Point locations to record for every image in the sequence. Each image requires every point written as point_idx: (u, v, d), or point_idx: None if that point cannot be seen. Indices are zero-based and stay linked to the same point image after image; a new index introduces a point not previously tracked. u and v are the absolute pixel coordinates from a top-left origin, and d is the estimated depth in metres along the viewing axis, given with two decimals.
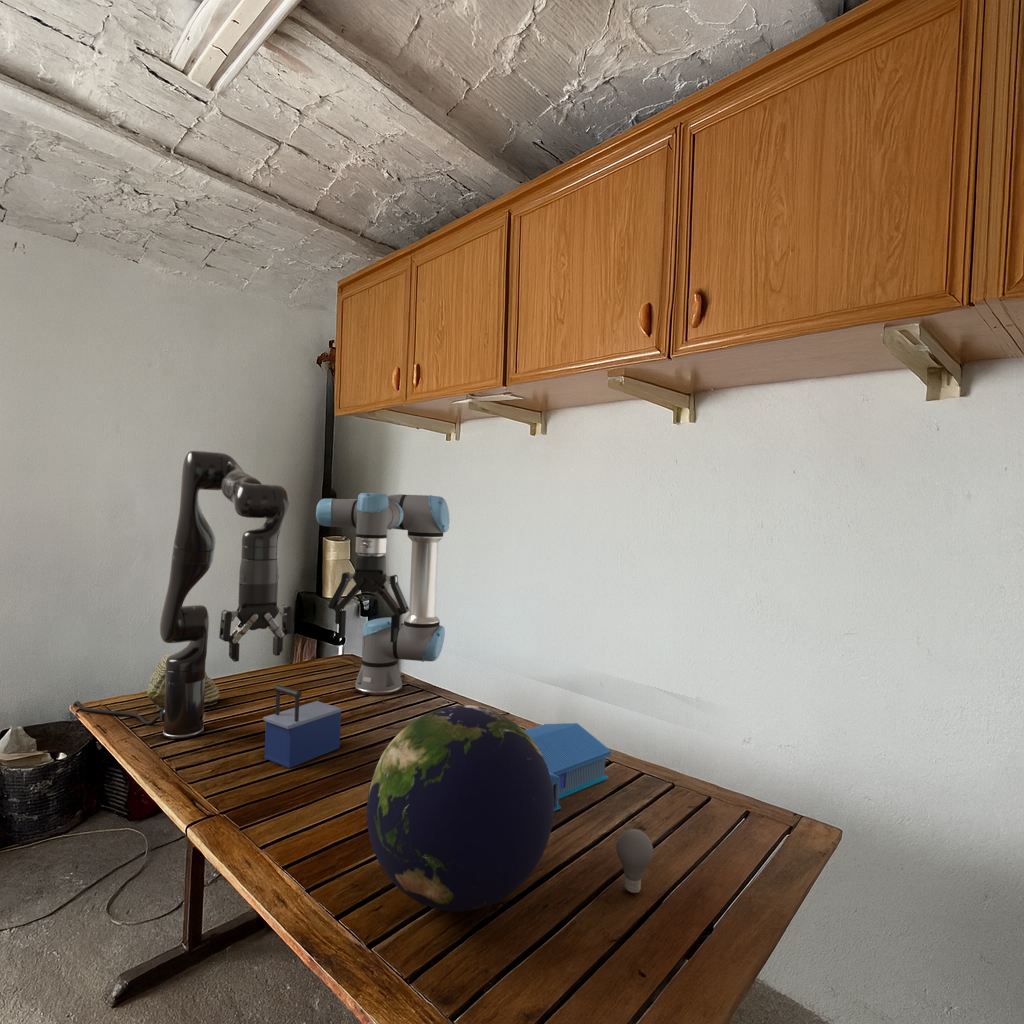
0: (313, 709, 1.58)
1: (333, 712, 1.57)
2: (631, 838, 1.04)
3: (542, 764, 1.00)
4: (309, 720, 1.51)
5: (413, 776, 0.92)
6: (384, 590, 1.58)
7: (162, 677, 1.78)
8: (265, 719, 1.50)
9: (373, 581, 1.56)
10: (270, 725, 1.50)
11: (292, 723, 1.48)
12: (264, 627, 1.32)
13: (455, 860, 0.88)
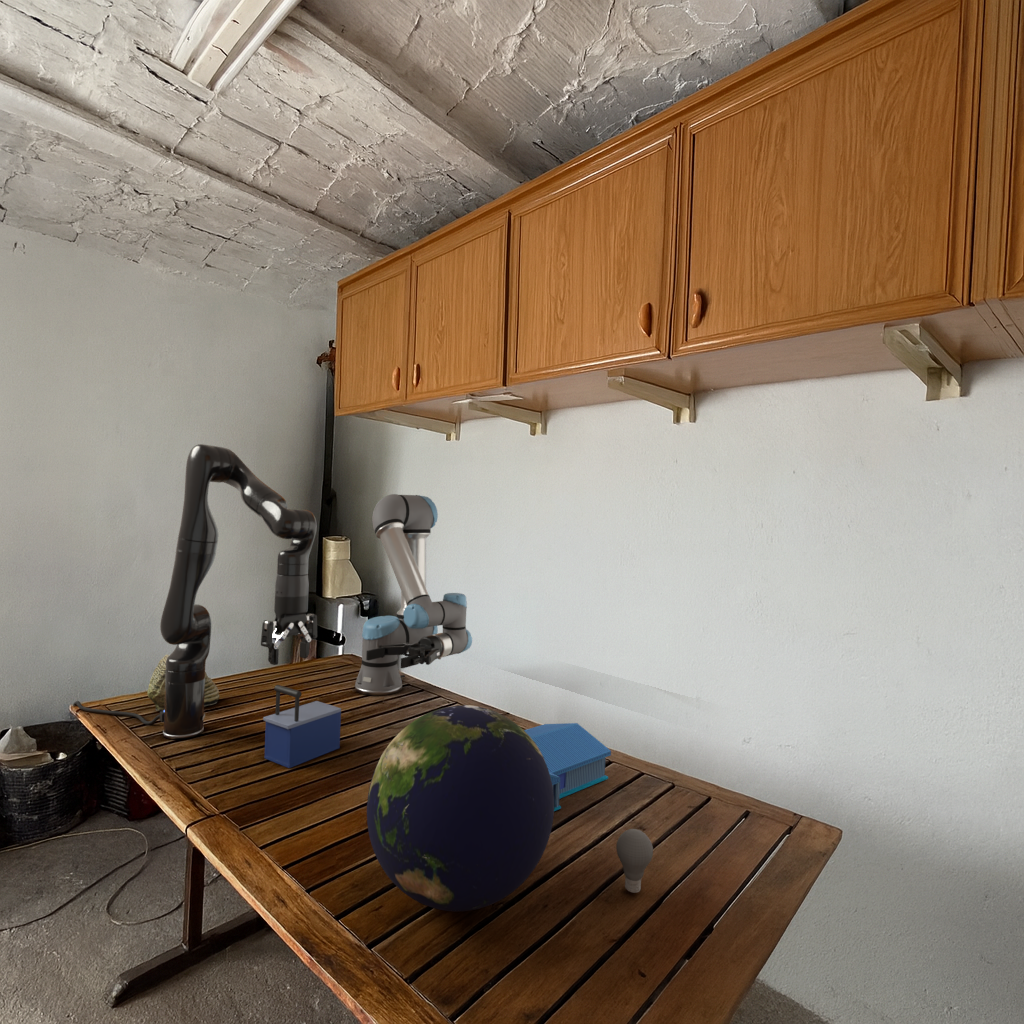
0: (313, 709, 1.58)
1: (333, 712, 1.57)
2: (631, 838, 1.04)
3: (542, 764, 1.00)
4: (309, 720, 1.51)
5: (413, 776, 0.92)
6: None
7: (162, 677, 1.78)
8: (265, 719, 1.50)
9: None
10: (270, 725, 1.50)
11: (292, 723, 1.48)
12: None
13: (455, 860, 0.88)
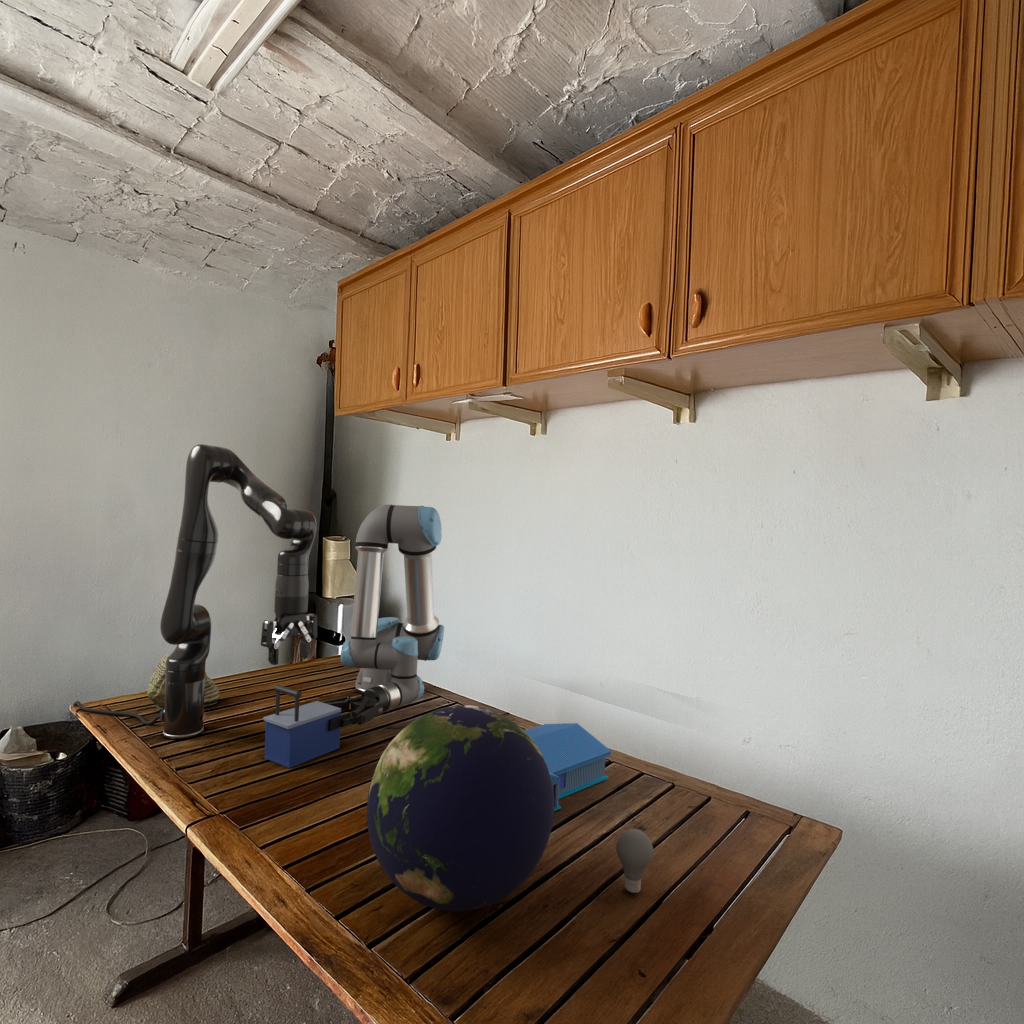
0: (313, 709, 1.58)
1: (333, 712, 1.57)
2: (631, 838, 1.04)
3: (542, 764, 1.00)
4: (309, 720, 1.51)
5: (413, 776, 0.92)
6: None
7: (162, 677, 1.78)
8: (265, 719, 1.50)
9: None
10: (270, 725, 1.50)
11: (292, 723, 1.48)
12: None
13: (455, 860, 0.88)
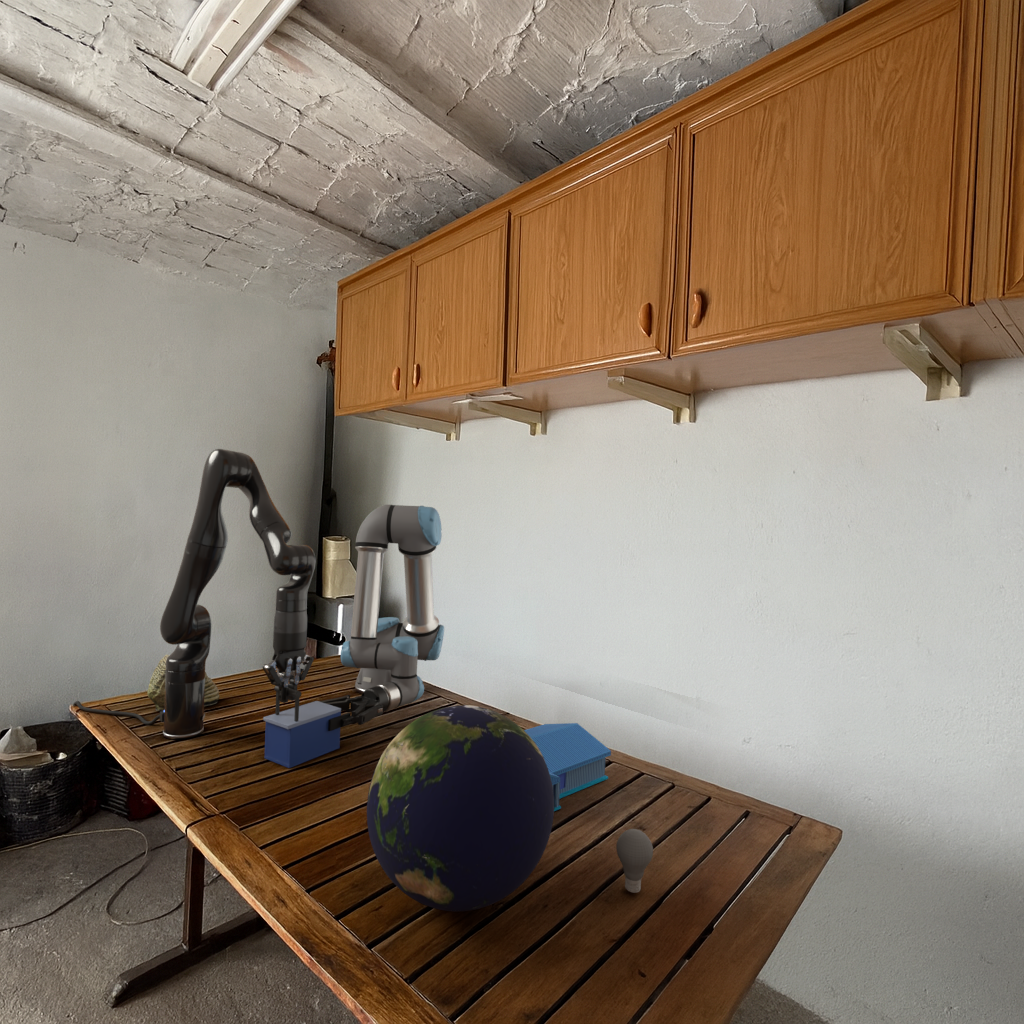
0: (313, 709, 1.58)
1: (333, 712, 1.57)
2: (631, 838, 1.04)
3: (542, 764, 1.00)
4: (309, 720, 1.51)
5: (413, 776, 0.92)
6: None
7: (162, 677, 1.78)
8: (265, 719, 1.51)
9: None
10: (270, 725, 1.51)
11: (292, 723, 1.48)
12: None
13: (455, 860, 0.88)
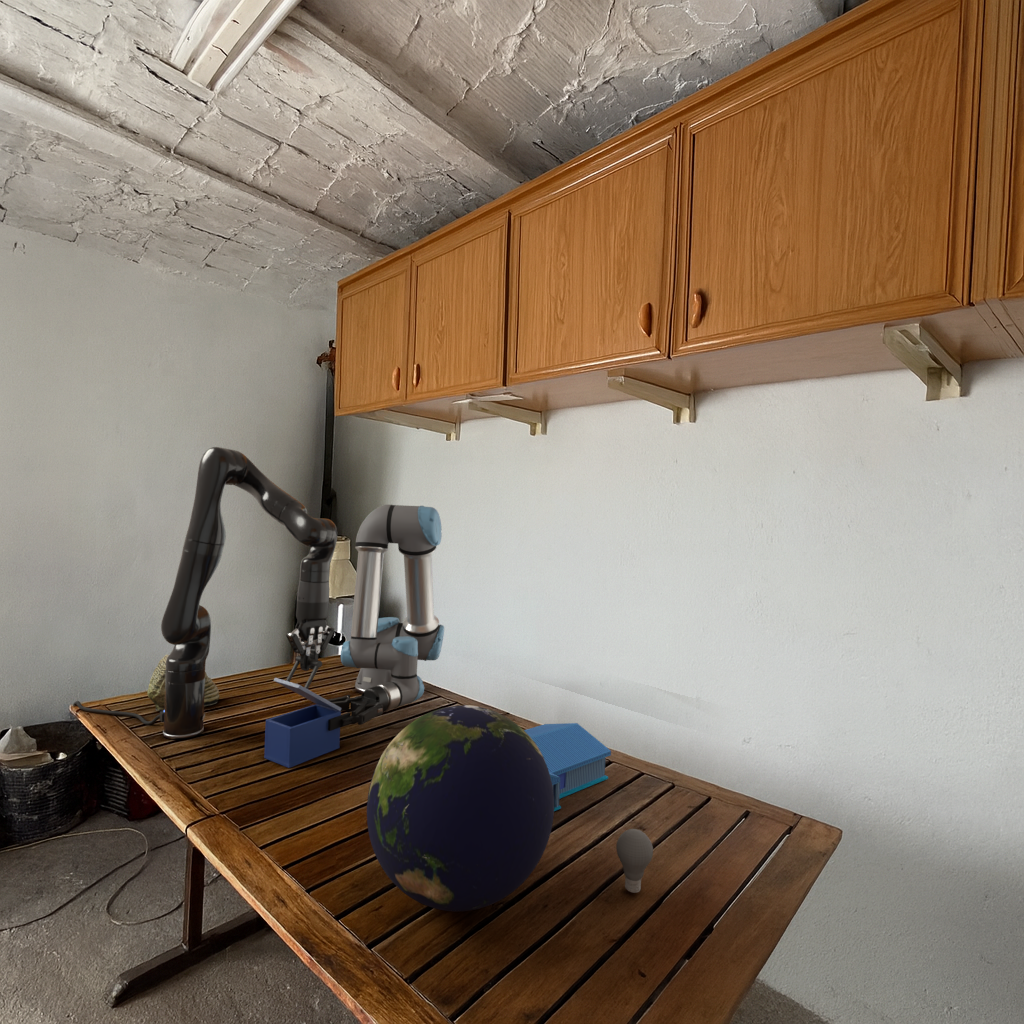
0: None
1: (334, 706, 1.58)
2: (631, 838, 1.04)
3: (542, 764, 1.00)
4: (315, 695, 1.53)
5: (413, 776, 0.92)
6: None
7: (162, 677, 1.78)
8: (276, 679, 1.53)
9: None
10: (270, 725, 1.51)
11: None
12: None
13: (455, 860, 0.88)
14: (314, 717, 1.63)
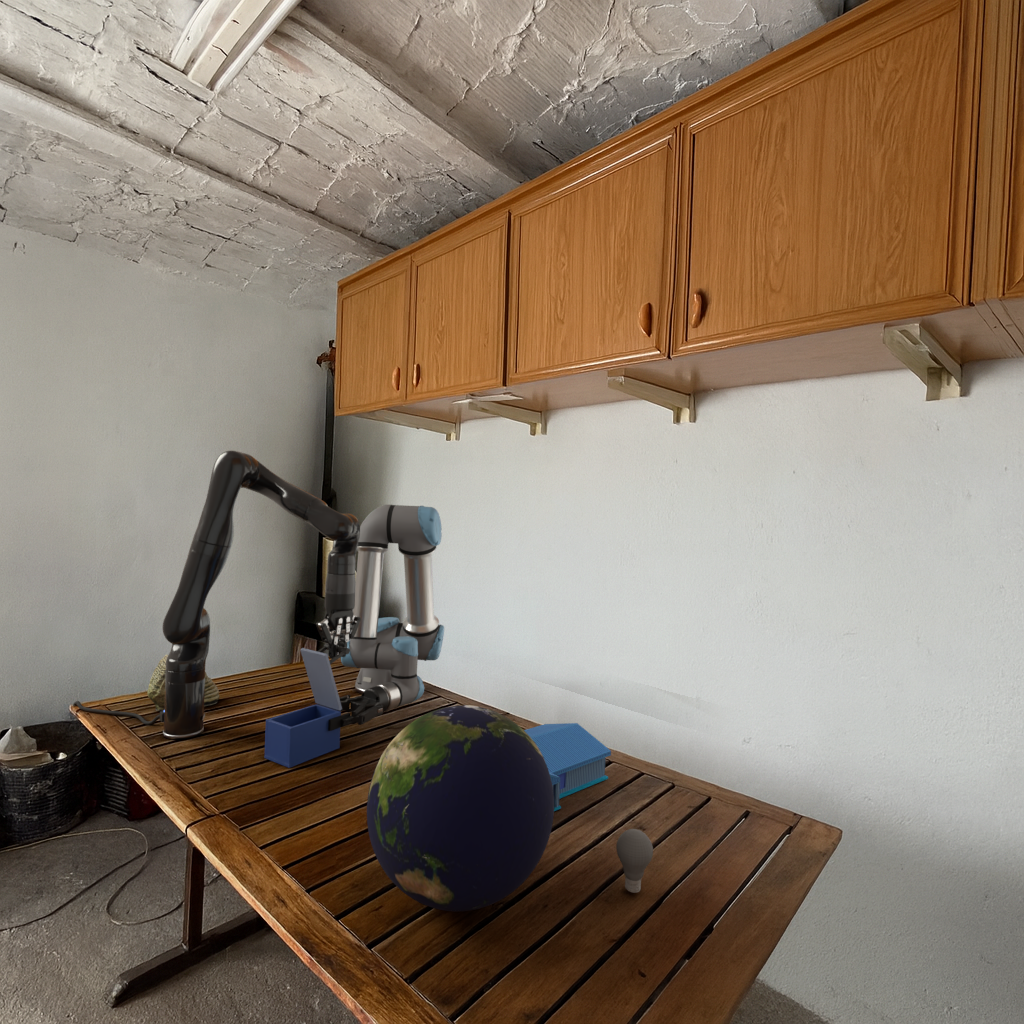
0: None
1: (338, 701, 1.59)
2: (631, 838, 1.04)
3: (542, 764, 1.00)
4: (332, 676, 1.57)
5: (413, 776, 0.92)
6: None
7: (162, 677, 1.78)
8: (303, 649, 1.59)
9: None
10: (270, 725, 1.51)
11: None
12: None
13: (455, 860, 0.88)
14: (314, 717, 1.63)
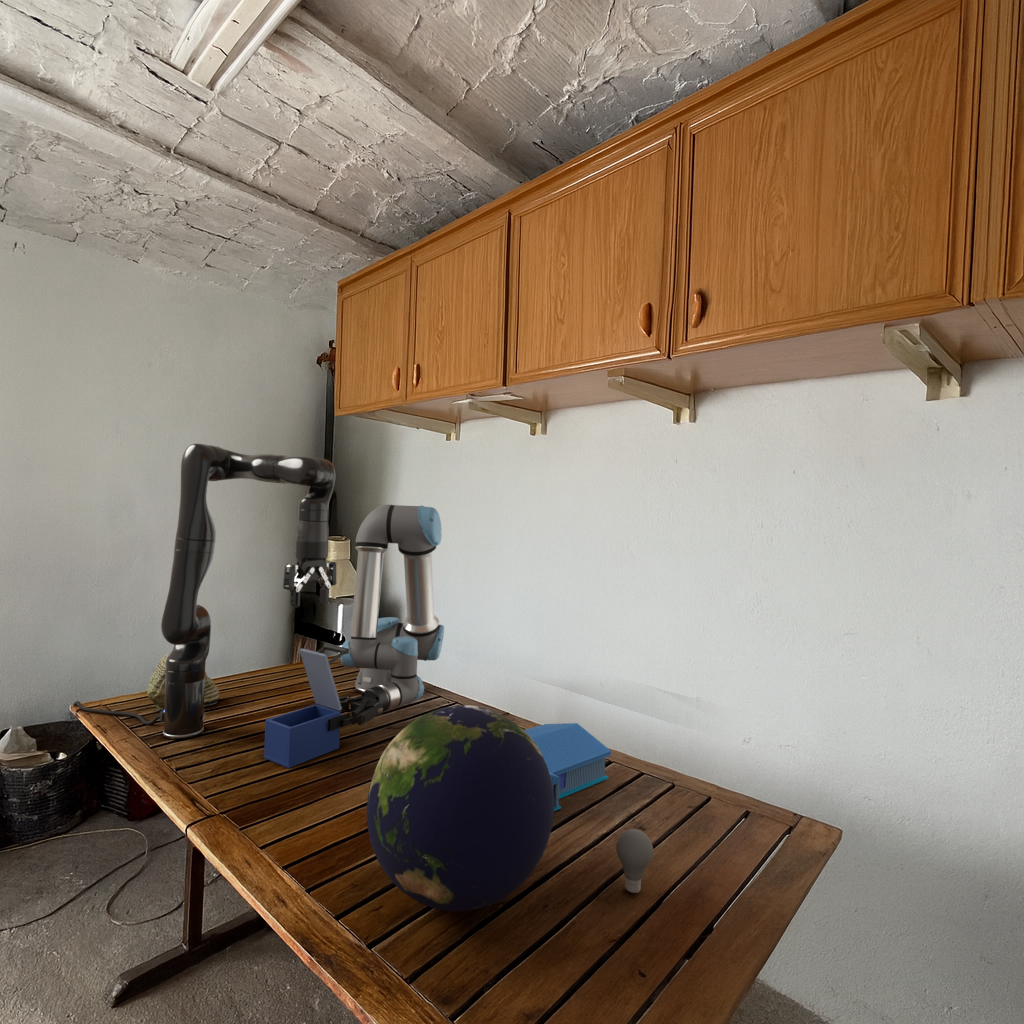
0: None
1: (338, 701, 1.59)
2: (631, 838, 1.04)
3: (542, 764, 1.00)
4: (331, 676, 1.56)
5: (413, 776, 0.92)
6: None
7: (162, 677, 1.78)
8: (302, 649, 1.59)
9: None
10: (270, 725, 1.51)
11: None
12: None
13: (455, 860, 0.88)
14: (314, 717, 1.63)
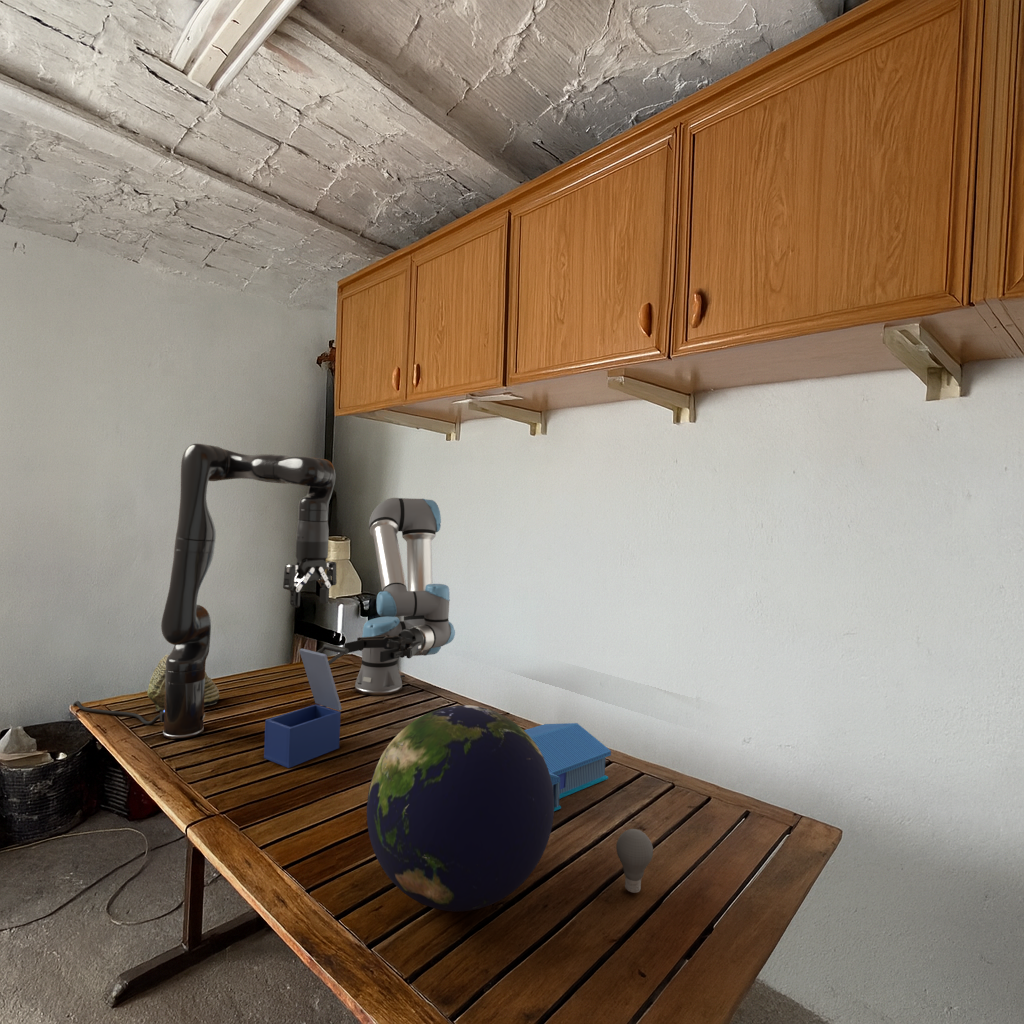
0: None
1: (338, 701, 1.59)
2: (631, 838, 1.04)
3: (542, 764, 1.00)
4: (331, 676, 1.56)
5: (413, 776, 0.92)
6: None
7: (162, 677, 1.78)
8: (302, 649, 1.59)
9: None
10: (270, 725, 1.51)
11: None
12: None
13: (455, 860, 0.88)
14: (314, 717, 1.63)
